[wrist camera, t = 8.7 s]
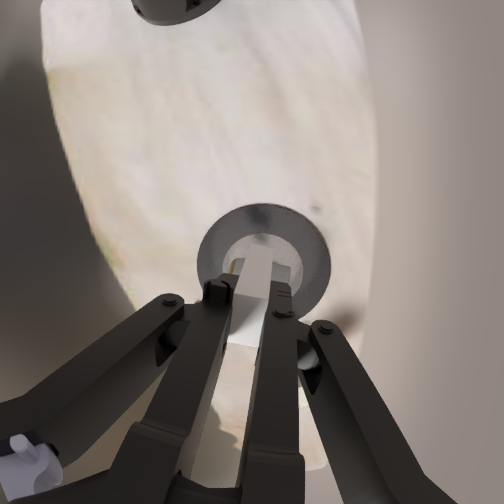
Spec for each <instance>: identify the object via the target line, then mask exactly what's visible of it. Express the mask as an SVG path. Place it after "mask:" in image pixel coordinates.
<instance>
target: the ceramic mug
mask: <svg viewBox="0 0 504 504" xmlns="http://www.w3.org/2000/svg"><path fill="white" fill-rule="evenodd" d="M245 259H246V258H236V259H234V260H233V261H232V263H231V265H230V267H229V270H228V273H229V274H235V275H240V274H241V271H242V268H243V265H244V262H245ZM290 275H291V267H289V266H285V265H280V264H275V263H272V272H271V280H273V281H278V282H284V283H288V284H289V282H290Z"/></svg>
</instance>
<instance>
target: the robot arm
mask: <svg viewBox="0 0 504 504" xmlns="http://www.w3.org/2000/svg"><path fill="white" fill-rule="evenodd" d="M131 1H132V4H133V7H134V9H135V11H136V13H137V14H138V15H139V16H140V17H141V18H143V19H144V20H145V21H147V22H148V23H151V24H154V25H160V26H169V25H176V24H180V23H184V22H187V21H190V20H192V19H194V18H196V17H198V16H200V15H202V14H204V13H205V12H207V11H208V10H210V9H211V8H212V7H213V6H215V5H216V4H217V3H218V2H219V0H131ZM273 250H274V248H272V247H266V246H260V245H255V244H250V247H249V250H248V253H247V256H246V259H245V262H244V265H243V268H242V271H241V274H240V275H235V274H229V273H223V274H221V275H219V276H218V278H217V279H209V280H206V281H205V282H204V287H203V299H202V301H201V303H198V304H184V299H183V298H182V297H181V296H179V295H176V294H172V293H171V294H170V293H167V294H162V295H160V296H158V297H156V298H155V299H153V300H152V301H151V302H149V303H148V304H146V305H145V306H144V307H142V308H141V309H139V310H138V311H136V312H135V313H134V314H132V315H131V316H130V317H128V318H127V319H125V320H124V321H123V322H121V323H120V324H118V325H117V326H116V327H114V328H113V329H112V330H110V331H109V332H107V333H106V334H105V335H103V336H102V337H100V338H99V339H98V340H96V341H95V342H94V343H92V344H91V345H90V346H88V347H87V348H86V349H84V350H83V351H81V352H80V353H79V354H77V355H76V356H75V357H74V358H72V359H71V360H69V361H68V362H67V363H65V364H64V365H63V366H61V367H60V368H59V369H57V370H56V371H55V372H53V373H52V374H51V375H49V376H48V377H47V378H45V379H44V380H43V381H42V382H40V383H39V384H37V385H36V386H35V387H33V388H32V389H31V390H29V391H28V392H27V393H26V394H25V395H23V396H20V397H17V398H14V399H11V400H8V401H5V402H2V403H0V482H1V484H2V487H3V490H4V492H5V494H6V496H7V499H8V500H9V502H8V503H7V504H305V459H304V457H303V455H301V454H300V453H299V392H298V376H299V379H300V382H301V385H302V388H303V390H304V393H305V396H306V399H307V402H308V404H309V407H310V410H311V413H312V416H313V418H314V421H315V424H316V427H317V430H318V432H319V435H320V438H321V441H322V444H323V446H324V449H325V452H326V455H327V458H328V460H329V463H330V466H331V469H332V472H333V474H334V477H335V480H336V483H337V486H338V488H339V491H340V494H341V497H342V500H343V503H344V504H457V503H456V502H455V501H454V500H453V499H452V498H450V497H449V496H448V495H447V494H446V493H444V492H443V491H442V490H441V489H440V488H439V487H438V486H437V485H435V484H434V483H433V482H432V481H431V480H430V479H429V478H428V477H427V476H425V474H424V473H423V471H422V469H421V467H420V465H419V463H418V462H417V460H416V458H415V456H414V454H413V452H412V450H411V449H410V447H409V445H408V443H407V441H406V440H405V438H404V436H403V434H402V432H401V431H400V429H399V427H398V425H397V424H396V422H395V420H394V418H393V417H392V415H391V413H390V411H389V410H388V408H387V406H386V404H385V403H384V401H383V399H382V398H381V396H380V394H379V393H378V391H377V389H376V387H375V386H374V384H373V382H372V381H371V379H370V378H369V376H368V374H367V373H366V371H365V369H364V368H363V366H362V364H361V363H360V361H359V359H358V358H357V356H356V354H355V353H354V351H353V350H352V348H351V346H350V345H349V343H348V341H347V340H346V338H345V337H344V335H343V333H342V332H341V330H340V329H339V327H338V326H337V325H335V324H334V323H332V322H330V321H327V320H316V321H314V322H313V323H312V325H311V326H310V325H307V324H304V323H302V322H300V321H299V320H297V319H296V315H295V313H294V312H293V311H292V294H291V293H292V292H291V287H290V286H289V284H288V283H284V282H278V281H273V280H271V272H272V261H273ZM227 339H228V342H231V343H236V344H242V345H247V346H253V347H258V352H257V356H256V361H255V365H254V366H255V371H254V377H253V384H252V390H251V397H250V403H249V410H248V416H247V422H246V428H245V435H244V441H243V447H242V453H241V458H240V465H239V471H238V476H237V481H236V485H235V488H207V487H204V486H202V485H200V484H198V483H195V482H193V481H191V480H190V478H191V472H192V467H193V464H194V460H195V456H196V453H197V449H198V446H199V442H200V439H201V435H202V432H203V428H204V425H205V421H206V418H207V414H208V411H209V407H210V404H211V400H212V397H213V393H214V390H215V386H216V383H217V379H218V376H219V372H220V369H221V365H222V361H223V358H224V354H225V351H226V346H227ZM167 367H168V368H167ZM166 368H167V370H166V372H165V374H164V376H163V378H162V380H161V382H160V385H159V387H158V388H157V391H156V393H155V395H154V397H153V399H152V401H151V403H150V405H149V407H148V409H147V411H146V413H145V415H144V417H143V419H142V421H140V422H135V423H133V424H132V425H131V427H130V429H129V430H128V432H127V434H126V436H125V439H124V440H123V443H122V445H121V447H120V449H119V451H118V453H117V455H116V457H115V459H114V461H113V463H112V465H111V467H110V469H108V470H105V471H102V472H99V473H97V474H94V475H92V476H90V477H87V478H84V479H81V480H79V481H76V482H73V483H70V484H68V485H64V486H61V487H58V488H55V489H52V490H51V488H52V487H53V486H54V485H59V484H61V482H62V479H63V478H62V468H64V467H66V466H68V465H70V464H71V463H73V462H74V461H76V460H77V459H78V458H79V457H81V456H82V455H83V454H84V453H85V452H86V451H87V450H88V449H89V448H90V447H91V446H92V445H93V444H94V443H95V442H96V441H97V440H98V439H99V438H100V437H101V436H102V435H103V434H104V433H105V432H106V431H107V430H108V429H109V428H110V426H111V425H113V424H114V422H116V420H117V419H118V418H119V417H120V416H121V415H122V414H123V413H124V412H125V411H126V410H127V409H128V408H129V407H130V406H131V405H132V404H133V403H134V402H135V401H136V400H137V399H138V398H139V397H140V395H141V394H142V393H143V392H144V391H145V390H146V389H147V388H148V387H149V386H150V385H151V384H152V383H153V382H154V381H155V379H157V378H158V377H159V375H160V374H161V373H162V372H163V371H164V370H165V369H166Z"/></svg>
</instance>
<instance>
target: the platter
mask: <svg viewBox="0 0 504 504" xmlns="http://www.w3.org/2000/svg"><path fill="white" fill-rule="evenodd" d="M250 244H255V245H260V246H266V247H272V248H274V250H273V261H272V263H275V264H280V265H285V266H289V267H291V275H290V282H289V286H290V287H291V292H292V293H291V294H292V311H293V312H294V313H295V315H296V319H297V320H298V319H300V318H302V317H303V316H305V315H306V314H307V313H309V312H310V311H311V310H312V309H313V308H314V307H315V306H316V305H317V303H318V302H319V301H320V299H321V298H322V296H323V294H324V292H325V290H326V287H327V285H328V281H329V276H330V260H329V255H328V251H327V249H326V246H325V243H324V242H323V240H322V238H321V236H320V235H319V233H318V232H317V231H316V229H315V228H314V227H313V226H312V225H311V224H310V223H309V222H308V221H306V220H305V219H304V218H303V217H301V216H299V215H298V214H296V213H294V212H292V211H290V210H287V209H285V208H281V207H277V206H271V205H253V206H246V207H243V208H239V209H237V210H234V211H232V212H230V213H228V214H227V215H225V216H223V217H222V218H221V219H219V220H218V221H217V222H216V223H215V224H214V225H213V226H212V227H211V228H210V229H209V231H208V232H207V234H206V235H205V237H204V239H203V241H202V243H201V245H200V248H199V252H198V258H197V272H198V278H199V281H200V284H201V287H202V289H203V287H204V282H205V281H206V280H209V279H217V278H218V276H219V275H221V274H223V273H228V270H229V267H230V265H231V263H232V261H233V260H234V259H236V258H246V256H247V253H248V250H249V247H250Z"/></svg>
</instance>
